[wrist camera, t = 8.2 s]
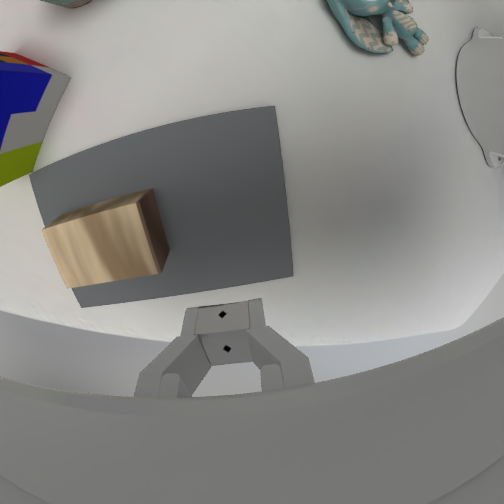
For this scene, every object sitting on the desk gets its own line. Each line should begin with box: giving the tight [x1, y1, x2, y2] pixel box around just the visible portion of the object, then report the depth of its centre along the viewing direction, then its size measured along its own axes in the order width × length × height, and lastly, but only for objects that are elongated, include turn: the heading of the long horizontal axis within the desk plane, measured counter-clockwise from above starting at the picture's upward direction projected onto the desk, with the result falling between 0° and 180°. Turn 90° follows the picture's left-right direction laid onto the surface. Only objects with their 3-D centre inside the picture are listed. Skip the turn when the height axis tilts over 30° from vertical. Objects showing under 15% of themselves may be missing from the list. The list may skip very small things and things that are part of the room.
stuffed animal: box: [327, 0, 428, 56], centre depth 13 cm, size 11×7×12 cm
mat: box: [29, 106, 293, 308], centre depth 24 cm, size 24×16×1 cm, turn 98°
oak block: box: [42, 188, 170, 289], centre depth 22 cm, size 4×6×10 cm
